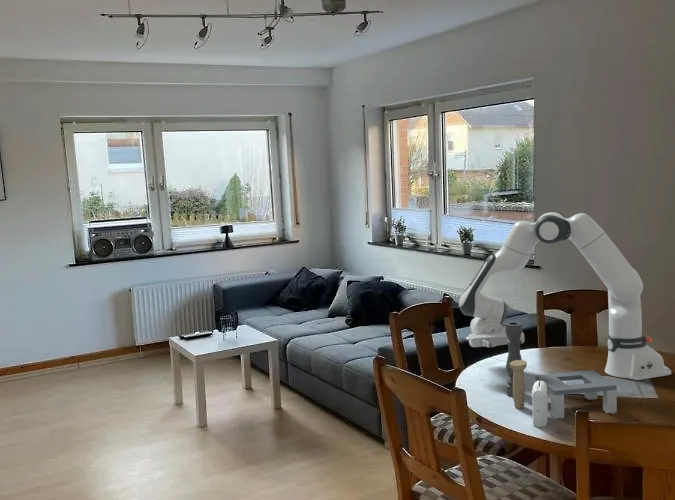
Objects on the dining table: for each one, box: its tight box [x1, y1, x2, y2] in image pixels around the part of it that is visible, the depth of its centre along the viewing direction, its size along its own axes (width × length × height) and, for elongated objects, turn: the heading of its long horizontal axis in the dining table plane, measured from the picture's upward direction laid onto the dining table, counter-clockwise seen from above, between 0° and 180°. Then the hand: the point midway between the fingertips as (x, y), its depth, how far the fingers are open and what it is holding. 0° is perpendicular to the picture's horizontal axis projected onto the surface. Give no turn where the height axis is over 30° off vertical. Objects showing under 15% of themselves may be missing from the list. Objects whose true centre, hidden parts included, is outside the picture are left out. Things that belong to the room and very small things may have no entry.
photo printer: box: [531, 381, 549, 428], centre depth 206 cm, size 10×4×12 cm, turn 160°
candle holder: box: [504, 321, 523, 398], centre depth 230 cm, size 6×6×25 cm
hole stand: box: [534, 369, 618, 420], centre depth 216 cm, size 20×16×9 cm
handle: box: [510, 359, 527, 410], centre depth 218 cm, size 5×6×15 cm
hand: (502, 344), depth 241 cm, fingers open, 8 cm apart
